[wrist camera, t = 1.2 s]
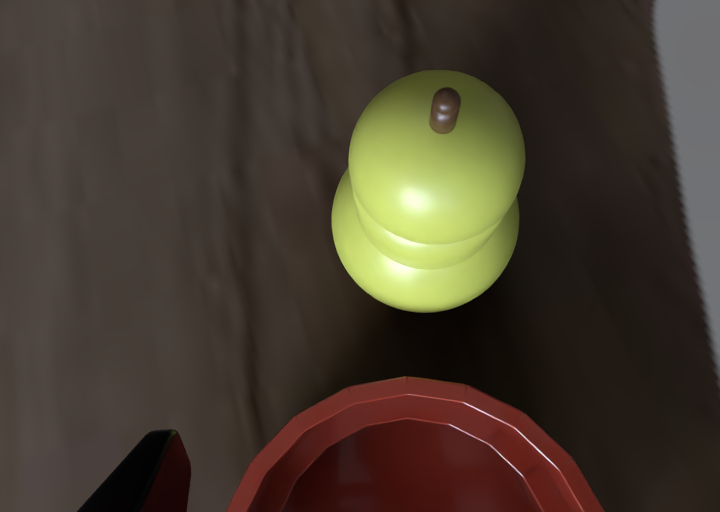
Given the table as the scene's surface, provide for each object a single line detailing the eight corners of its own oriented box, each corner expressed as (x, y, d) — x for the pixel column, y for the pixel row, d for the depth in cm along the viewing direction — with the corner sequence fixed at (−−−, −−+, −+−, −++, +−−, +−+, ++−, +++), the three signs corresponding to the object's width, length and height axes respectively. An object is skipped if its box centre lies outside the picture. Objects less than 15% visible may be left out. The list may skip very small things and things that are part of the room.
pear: (529, 275, 23) (679, 152, 11) (387, 352, 23) (382, 311, 11) (448, 144, 25) (503, -91, 13) (313, 214, 24) (236, 41, 12)
